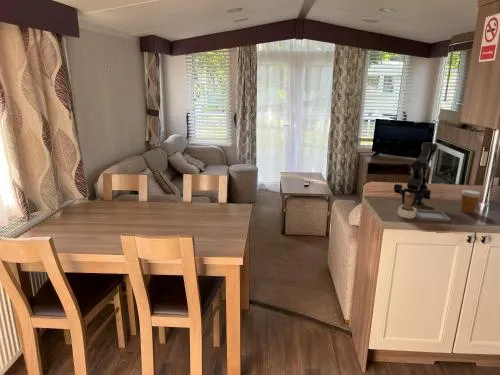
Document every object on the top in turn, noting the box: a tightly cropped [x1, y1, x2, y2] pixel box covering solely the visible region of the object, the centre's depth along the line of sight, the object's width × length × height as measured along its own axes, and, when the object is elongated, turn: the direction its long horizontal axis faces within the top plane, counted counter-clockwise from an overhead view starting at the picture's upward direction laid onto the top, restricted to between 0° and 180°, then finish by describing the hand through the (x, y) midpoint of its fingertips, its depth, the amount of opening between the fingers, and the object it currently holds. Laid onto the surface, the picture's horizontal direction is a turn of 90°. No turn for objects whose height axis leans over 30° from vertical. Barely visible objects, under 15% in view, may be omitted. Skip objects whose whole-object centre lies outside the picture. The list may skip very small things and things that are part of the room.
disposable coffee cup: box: [460, 188, 481, 214], centre depth 212 cm, size 10×10×12 cm
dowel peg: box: [402, 192, 415, 211], centre depth 202 cm, size 5×5×12 cm
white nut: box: [397, 205, 418, 219], centre depth 203 cm, size 8×8×4 cm
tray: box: [415, 208, 451, 223], centre depth 203 cm, size 12×15×2 cm
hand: (407, 204), depth 200 cm, fingers closed on dowel peg, 5 cm apart
